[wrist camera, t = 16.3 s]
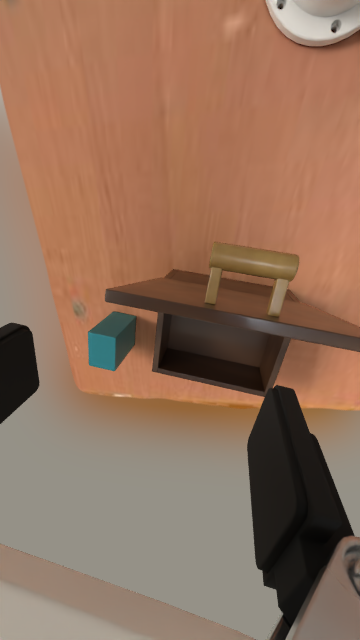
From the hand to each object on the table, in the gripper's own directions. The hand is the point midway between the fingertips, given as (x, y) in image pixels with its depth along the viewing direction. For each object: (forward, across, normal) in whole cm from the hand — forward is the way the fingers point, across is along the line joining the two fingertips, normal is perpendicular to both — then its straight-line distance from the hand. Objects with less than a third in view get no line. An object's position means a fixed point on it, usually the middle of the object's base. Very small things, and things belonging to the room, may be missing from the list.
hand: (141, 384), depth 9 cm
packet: (+27, +11, +14) cm, 32 cm away
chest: (+27, -4, +9) cm, 29 cm away
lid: (+13, -4, +1) cm, 13 cm away
